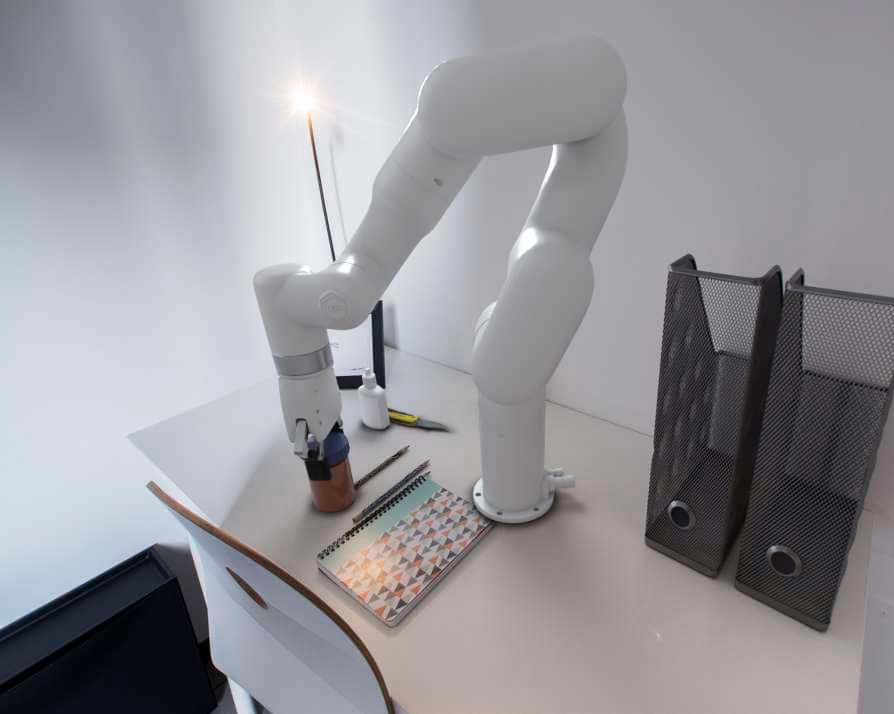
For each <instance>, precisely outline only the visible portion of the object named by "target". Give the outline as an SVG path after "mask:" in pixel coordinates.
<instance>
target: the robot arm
mask: <svg viewBox="0 0 894 714" xmlns="http://www.w3.org/2000/svg"><path fill="white" fill-rule="evenodd" d="M626 69H627V68H626V66H625V63H624V60H623V58H622V56H621V55H620V52H619V51H618V50H617V49H616V48H615V47H614V45H613V44H612V43H610V42H609V41H607V40H606V39H605V38H603V37H600V36H598V35H595V34H590V33H575V34H570V35H564V36H560V37H559V36H558V37H555V38H550V39H545V40H542V41H541V40H540V41H537V42H532V43H527V44H522V45H518V46H517V45H516V46H513V47H509V48H503V49H498V50H493V51H488V52H482V53H477V54H471V55H465V56H460V57H454V58H451V59H447V60H445V61H442V62H441V63H439V64H438V65H436V66H435V67H434V68H433V69H431V71H430V72H429V73H428V74H427V76H426V77H425V79H424V80H423V83H422V85H421V86H420V90H419V92H418V96H417V106H416V107H417V108H416V110H415V112H414V113H413V116H412V117H411V119H410V121H409V123H408V124H407V126H406V128H405V129H404V131H403V132H402V134H401V135H400V137H399V139H398V141H397V142H396V144H395V145H394V147H393V149H392V150H391V152H390V153H389V155H388V156H387V158H386V159H385V161H384V163H383V164H382V166H381V168H380V169H379V171H378V172H377V174H376V175H375V178H374V180H373V184H372V187H371V188H372V191H371V194H372V195H371V200H370V204H369V206H368V208H367V211H366V213H365V215H364V217H363V218H362V220H361V223H360V224H359V225H358V227H357V229H356V231H355V232H354V234H353V235H352V237H351V239H350V240H349V241H348V243H347V244H346V247H345V248H344V249H343V250H342V252H341V253H340V255H339V257H337V259H336V260H333V262H332V263H331V264H330V265H328V267H326V268H323V269H322V270H319V271H318V272H314V271H313V269H312V268H311V266H308V265H307V264H303V263H298V262H297V263H296V262H287V263H277V264H272V265H269V266H265V267H263V268H261V269H259V270H257V271H256V272H255V274H254V275H253V277H252V286H253V290H254V294H255V297H256V301H257V305H258V310H259V312H260V316H261V320H262V323H263V327H264V331H265V334H266V335H265V336H266V338H267V342H268V345H269V349H270V353H271V356H272V360H273V363H274V367H275V371H276V374H277V376H278V377H279V378H278V393H279V399H280V401H279V402H280V406H281V412H282V417H283V421H284V426H285V429H286V434H287V437H288V438H287V439H288V440H289V442H290V443H291V444H294V446H293V454H294V455H295V456H297V457H299V458H300V459H301V460H302V462H304V461H305V464H304V466H305V465H306V468H307V472H308V476H309V479H310V480H311V481H330V480H331V478H332V475H331V471H330V467H329V463H328V458H327V456H324V445H323V440H324V439H325V438H326V437H327V435H328V434H329V432H332V431H334V432H340V433H343V434H344V435H345V430H344V427H343V425H344V422H343V419H342V417H341V414H342V410H343V403H342V397H341V392H340V388H339V384H338V380H337V376H336V373H335V370H334V365H335V361H334V356H333V352H332V348H331V347H332V346H331V342H330V337H329V333H328V330H333V331H334V330H335V331H349V330H353V329H356V328H358V327H360V326H361V325H363V324H364V323H365V322H366V321H367V319H368V318H369V317H370V315H371V313H372V312H373V310H374V309H375V307H376V306H377V304H378V303H379V301H380V300H381V298H382V297H383V295H385V293H386V291H387V290H388V288H389V287H390V285H391V283H392V282H393V281H394V279H395V277H397V275H398V273H399V272H400V270H401V268H402V267H403V266H404V265H405V263H406V261H407V260H408V259H409V257H410V256H411V254H412V253H413V251H414V250H415V249H416V247H417V246H418V245H419V243H420V242H421V241H422V240H423V239H424V238H425V237H426V236H428V235H429V234H430V233H432V231H433V230H434V229H435V228H436V226H437V225H438V224H439V222H440V221H441V219H442V218H443V217H444V215H445V214H446V212H447V210H448V209H449V207H450V206H451V205H452V204H453V202H454V201H455V199H456V197H458V195H459V193H461V191H462V189H463V187H464V186H465V185H466V183H467V182H468V180H470V178H471V176H472V174H473V173H474V171H476V169H477V168H478V166H479V165H480V163H481V162H482V160H483V159H484V158H485V157H491V156H499V155H506V154H511V153H516V152H522V151H526V150H527V151H528V150H532V149H537V148H543V147H549V146H552V153H551V157H550V158H551V159H550V161H549V162H550V163H549V166H548V168H547V171H546V173H545V176H544V178H543V181H542V183H541V186H540V188H539V192H538V195H537V197H536V199H535V201H534V203H533V205H532V208H531V210H530V212H529V214H528V216H527V219H526V221H525V223H524V225H523V227H522V229H521V231H520V233H519V235H518V237H517V239H516V240H515V243H514V244H513V246H512V248H511V250H510V253H509V257H508V262H507V274H506V275H507V276H506V279H505V281H504V283H503V286H502V288H501V291H500V293H499V296H498V297H497V300H496V301H494V302H492V303H490V304H489V305H488V306H487V307H486V308H484V310H483V311H482V313H480V316H479V318H478V320H477V321H476V325H475V329H474V334H473V339H472V348H471V349H472V350H471V356H470V372H471V377H472V380H473V382H474V385H475V386H476V389H477V405H478V425H479V428H478V429H479V444H480V462H481V463H480V464H481V477H480V478H479V479H478V480H477V482H476V484H474V487H473V491H472V499H473V502H474V506H475V507H476V509H477V511H479V512H480V513H481V514H482V515H483V516H485V517H487V518H488V519H491V520H494V521H496V522H500V523H505V524H521V523H527V522H530V521H533V520H536V519H538V518H540V517H542V516H543V515H545V514H546V513H547V512H548V511H549V510H550V509H551V507H552V505H553V503H554V500H555V499H554V498H555V492H556V490H557V489H558V490H559V489H571V488H572V489H573V488H576V479H575V476H574V475H573V474H568V475H564V469H563V467H557V468H552V469H548V467H545V453H546V451H545V450H546V449H545V448H546V447H545V446H546V413H547V412H546V409H547V407H546V406H547V403H546V402H547V385H548V384H549V382H550V380H551V379H552V378H553V376H554V374H555V372H556V371H557V368H558V367H559V365H560V363H561V361H562V360H563V357H564V356H565V354H566V352H567V350H568V348H569V347H570V344H571V343H572V341H573V339H574V337H575V335H576V333H577V332H578V331H579V328H580V326H581V324H582V322H583V320H584V318H585V316H586V314H587V312H588V311H589V310H588V309H589V307H590V305H591V302H592V297H593V294H594V289H595V273H594V267H593V265H592V261H591V260H590V257H591V255H592V251H593V249H594V246H595V244H596V242H597V241H598V238H599V236H600V235H601V232H602V230H603V228H604V226H605V223H606V221H607V219H608V216H609V214H610V213H611V210H612V209H613V206H614V204H615V201H616V200H617V198H618V195H619V192H620V189H621V187H622V184H623V180H624V177H625V175H626V169H627V163H628V157H629V153H628V152H629V134H628V124H627V118H626V113H625V110H624V106H623V105H624V102H625V100H626V95H627V91H628V90H627V89H628V76H627V70H626ZM310 435H311V436H314V437H316V438H310V437H309V436H310ZM308 443H317V451H315V450H310V449H309V448H308ZM306 468H305V469H306ZM307 472H306V473H307ZM308 476H307V477H308Z"/></svg>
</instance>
